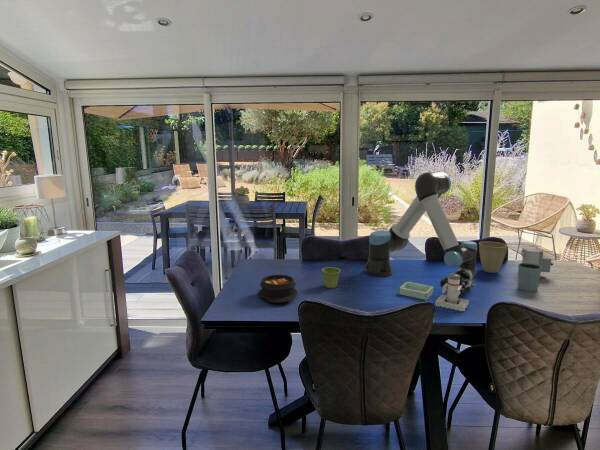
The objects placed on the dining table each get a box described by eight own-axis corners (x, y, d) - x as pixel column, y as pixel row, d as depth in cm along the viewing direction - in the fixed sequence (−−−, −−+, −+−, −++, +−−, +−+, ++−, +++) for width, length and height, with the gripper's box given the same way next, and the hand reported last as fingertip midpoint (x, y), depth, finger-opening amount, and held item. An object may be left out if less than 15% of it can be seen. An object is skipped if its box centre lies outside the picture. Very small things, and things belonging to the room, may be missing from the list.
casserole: (301, 305, 175) (301, 287, 174) (260, 307, 172) (259, 289, 171) (293, 286, 199) (293, 270, 198) (257, 288, 196) (256, 272, 195)
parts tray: (398, 293, 189) (399, 287, 188) (406, 287, 198) (406, 281, 197) (426, 299, 182) (426, 293, 181) (433, 292, 191) (433, 286, 190)
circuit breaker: (552, 279, 211) (555, 252, 208) (523, 277, 214) (526, 251, 211) (546, 274, 218) (550, 249, 216) (518, 273, 221) (521, 247, 218)
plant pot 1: (341, 284, 202) (342, 268, 200) (337, 290, 193) (338, 273, 192) (324, 282, 205) (324, 266, 203) (319, 288, 196) (319, 271, 195)
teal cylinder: (530, 293, 190) (533, 269, 188) (511, 286, 199) (513, 264, 197) (543, 290, 195) (546, 266, 193) (523, 283, 204) (526, 261, 201)
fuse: (444, 305, 175) (447, 275, 172) (447, 301, 179) (449, 272, 176) (456, 308, 172) (458, 277, 170) (459, 304, 176) (461, 274, 174)
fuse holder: (435, 305, 175) (435, 301, 175) (441, 298, 183) (441, 294, 183) (463, 311, 168) (463, 307, 168) (468, 304, 176) (468, 300, 176)
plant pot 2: (506, 276, 216) (509, 248, 213) (477, 273, 221) (480, 246, 218) (503, 268, 229) (506, 242, 226) (475, 266, 234) (478, 240, 231)
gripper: (482, 288, 184) (472, 304, 166) (442, 281, 195) (428, 295, 176) (483, 273, 183) (473, 287, 164) (443, 266, 193) (429, 279, 174)
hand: (450, 291), depth 170 cm, fingers open, 5 cm apart
